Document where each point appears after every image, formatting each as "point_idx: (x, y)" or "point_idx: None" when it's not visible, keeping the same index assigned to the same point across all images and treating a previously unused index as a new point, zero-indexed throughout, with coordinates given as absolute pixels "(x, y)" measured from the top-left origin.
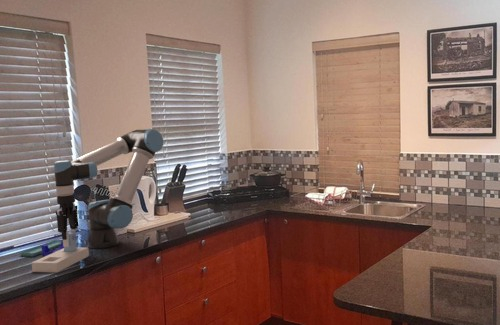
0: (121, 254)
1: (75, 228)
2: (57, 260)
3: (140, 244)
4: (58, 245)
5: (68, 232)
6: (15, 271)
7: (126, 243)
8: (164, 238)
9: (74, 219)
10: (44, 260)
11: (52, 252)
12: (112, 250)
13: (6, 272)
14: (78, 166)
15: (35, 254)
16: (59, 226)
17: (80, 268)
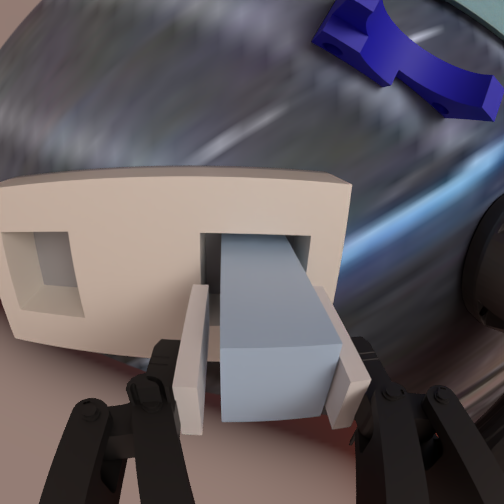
0: None
1: (353, 434)
2: (39, 324)
3: (455, 389)
4: (501, 36)
5: (316, 361)
6: (45, 41)
7: (488, 338)
8: (482, 405)
9: (443, 487)
10: (27, 230)
11: (356, 56)
12: (416, 349)
13: (36, 12)
14: None
15: None
16: (65, 479)
17: (134, 361)
